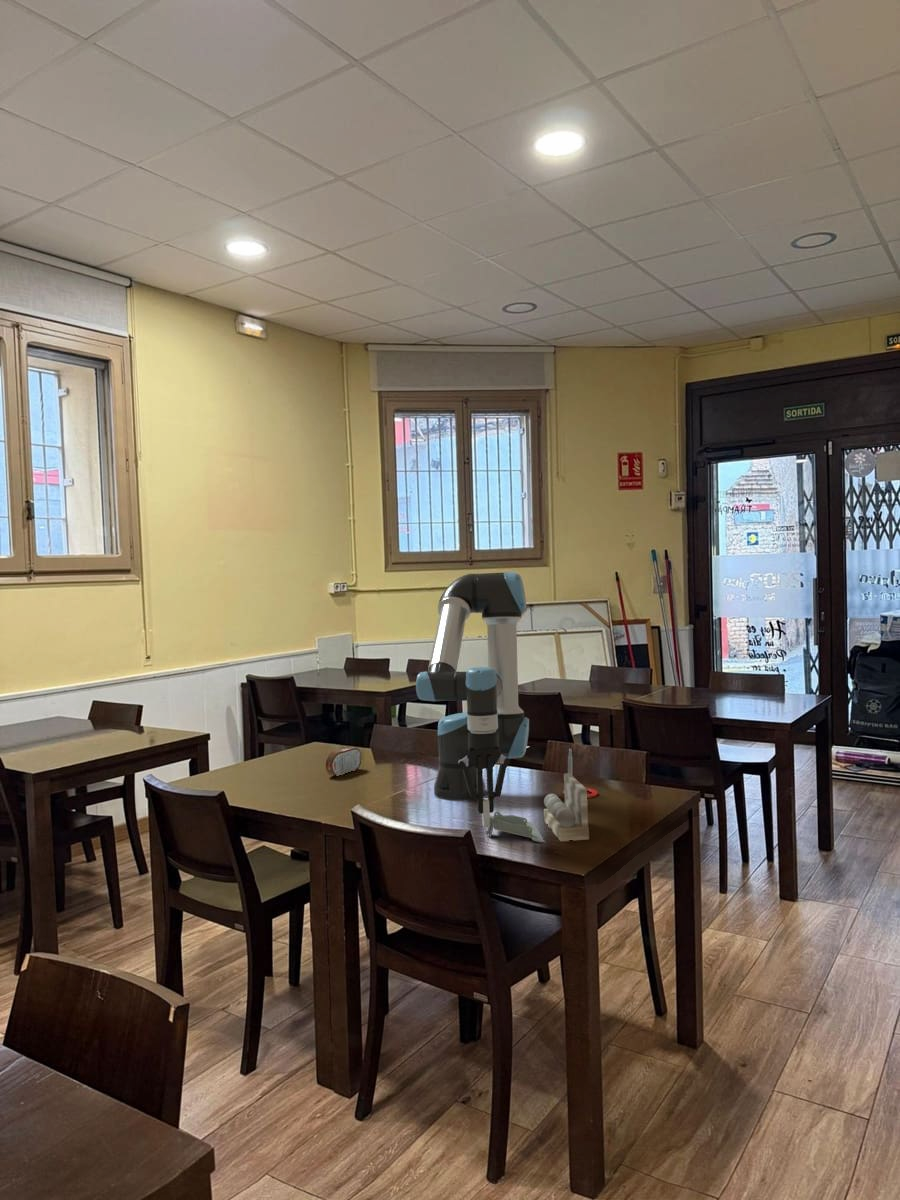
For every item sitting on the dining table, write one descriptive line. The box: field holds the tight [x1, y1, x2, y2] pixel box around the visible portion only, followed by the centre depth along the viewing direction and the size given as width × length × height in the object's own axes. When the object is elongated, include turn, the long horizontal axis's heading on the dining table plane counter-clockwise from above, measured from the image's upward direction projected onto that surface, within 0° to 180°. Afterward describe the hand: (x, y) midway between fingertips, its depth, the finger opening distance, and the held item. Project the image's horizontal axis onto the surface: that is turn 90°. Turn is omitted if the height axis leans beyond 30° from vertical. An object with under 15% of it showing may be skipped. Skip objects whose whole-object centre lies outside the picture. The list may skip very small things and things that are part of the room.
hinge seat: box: [543, 772, 590, 842], centre depth 205 cm, size 17×7×12 cm, turn 7°
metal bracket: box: [484, 811, 546, 844], centre depth 203 cm, size 14×6×15 cm
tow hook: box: [561, 748, 598, 797], centre depth 236 cm, size 8×13×9 cm
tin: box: [325, 746, 362, 777], centre depth 271 cm, size 15×3×8 cm, turn 144°
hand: (486, 825), depth 203 cm, fingers closed
